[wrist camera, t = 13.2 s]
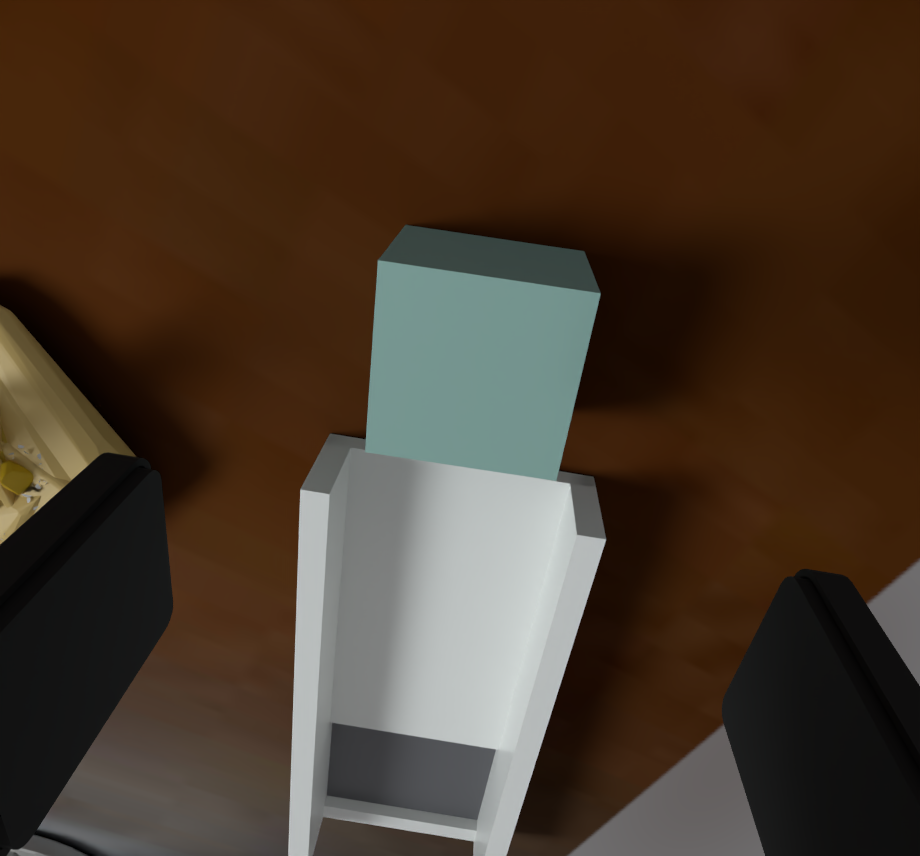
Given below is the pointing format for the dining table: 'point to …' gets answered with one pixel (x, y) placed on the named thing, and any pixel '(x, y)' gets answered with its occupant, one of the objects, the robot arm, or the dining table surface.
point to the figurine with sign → (41, 427)
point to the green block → (478, 350)
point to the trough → (430, 640)
